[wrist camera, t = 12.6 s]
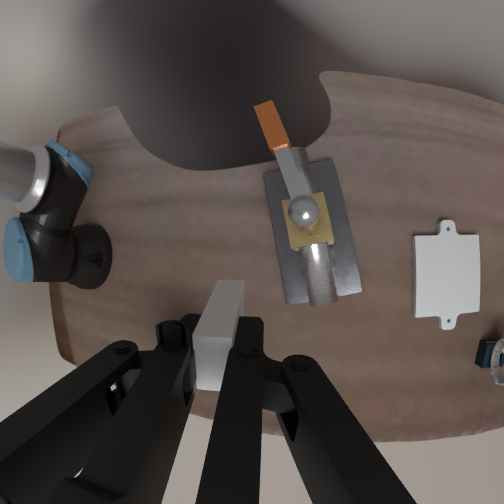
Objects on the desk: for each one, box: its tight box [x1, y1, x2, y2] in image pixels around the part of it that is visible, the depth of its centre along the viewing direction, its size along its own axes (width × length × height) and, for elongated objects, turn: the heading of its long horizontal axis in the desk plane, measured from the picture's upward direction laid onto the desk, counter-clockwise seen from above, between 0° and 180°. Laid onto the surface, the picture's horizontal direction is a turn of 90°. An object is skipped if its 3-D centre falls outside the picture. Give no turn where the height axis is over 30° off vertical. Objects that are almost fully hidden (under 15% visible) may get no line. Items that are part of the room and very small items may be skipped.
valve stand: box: [263, 147, 362, 306], centre depth 39 cm, size 22×12×14 cm, turn 10°
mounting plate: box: [412, 220, 480, 330], centre depth 38 cm, size 18×13×2 cm
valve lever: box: [254, 100, 319, 228], centre depth 32 cm, size 17×3×2 cm, turn 17°
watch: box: [475, 338, 504, 385], centre depth 29 cm, size 6×8×11 cm
